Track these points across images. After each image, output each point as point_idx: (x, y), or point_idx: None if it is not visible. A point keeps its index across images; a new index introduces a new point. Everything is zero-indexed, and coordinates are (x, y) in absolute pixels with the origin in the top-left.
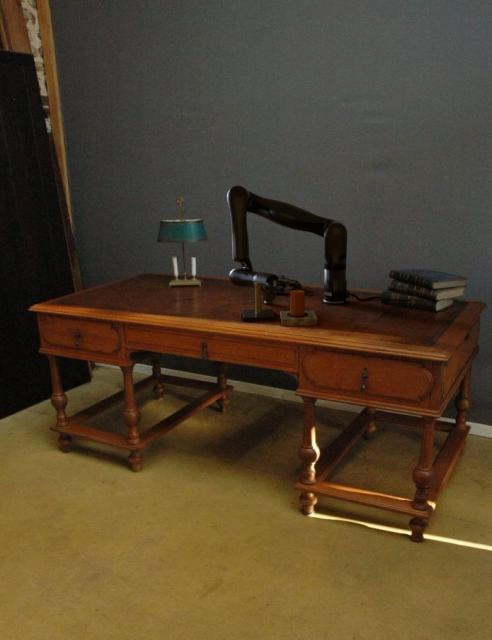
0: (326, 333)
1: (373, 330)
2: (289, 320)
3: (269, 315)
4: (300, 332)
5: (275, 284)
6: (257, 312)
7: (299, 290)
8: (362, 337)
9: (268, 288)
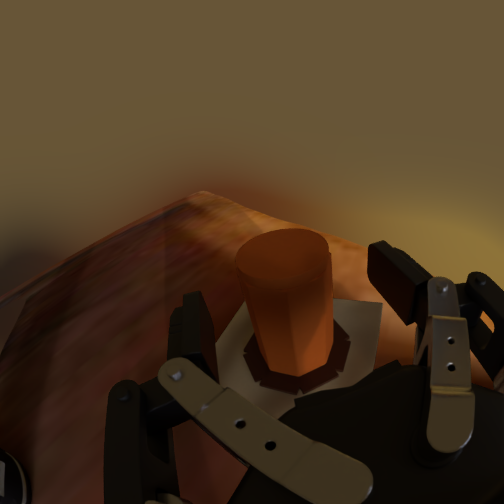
0: None
1: (177, 250)
2: (355, 303)
3: None
4: (339, 263)
5: (440, 316)
6: None
7: (256, 263)
8: (229, 227)
9: (490, 341)
